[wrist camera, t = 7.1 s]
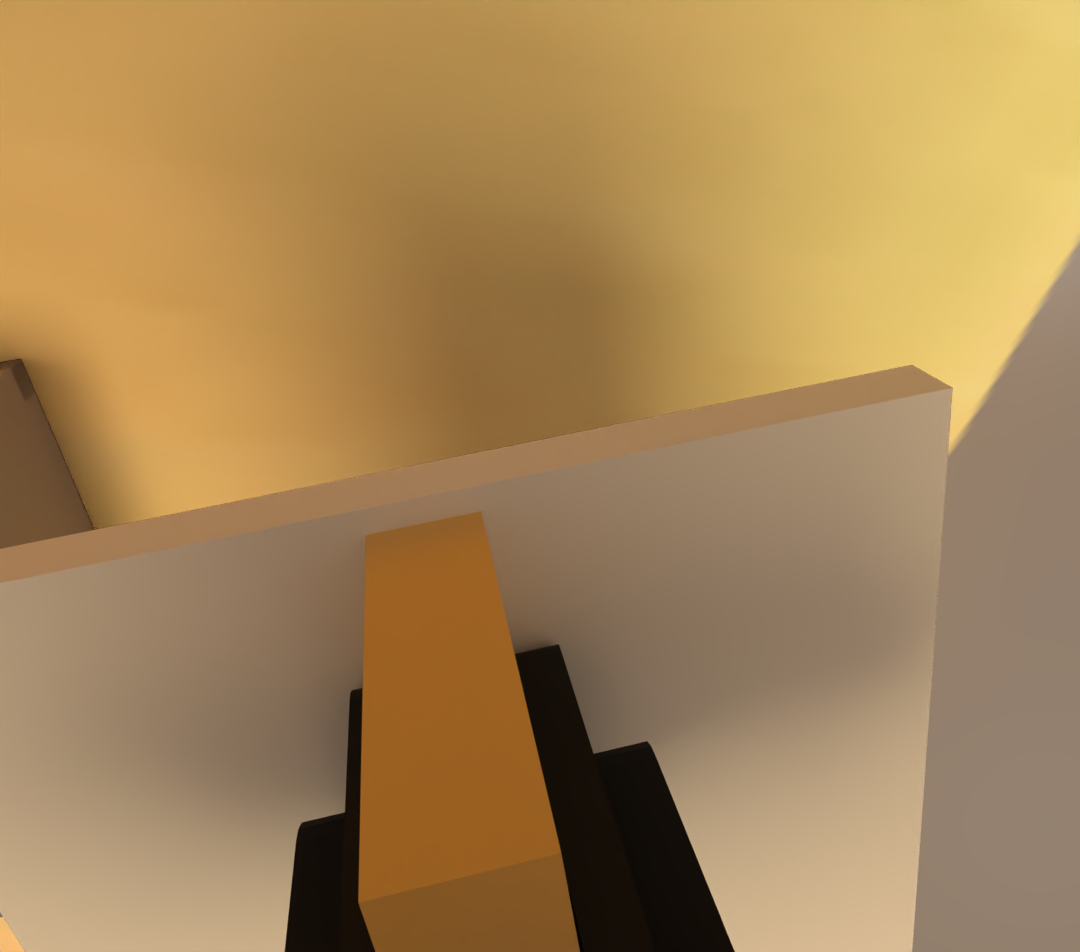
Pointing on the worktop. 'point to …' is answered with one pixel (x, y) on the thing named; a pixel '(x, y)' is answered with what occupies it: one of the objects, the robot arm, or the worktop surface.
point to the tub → (32, 469)
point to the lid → (491, 683)
